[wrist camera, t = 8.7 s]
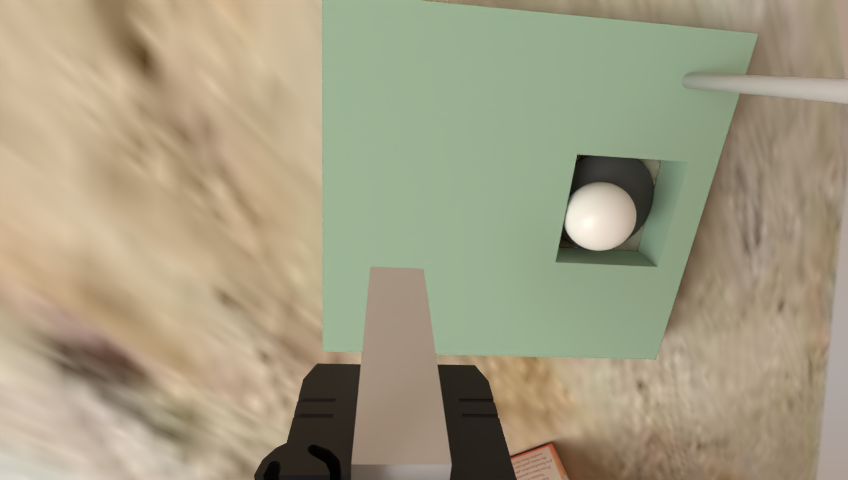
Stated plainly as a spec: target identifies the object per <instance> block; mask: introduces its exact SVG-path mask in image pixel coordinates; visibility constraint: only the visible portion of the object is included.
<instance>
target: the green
mask: <svg viewBox="0 0 848 480" xmlns="http://www.w3.org/2000/svg"><path fill="white" fill-rule="evenodd" d="M757 38H758V33H748V32H738V31H728V30H718V29H708V28H697V27H687V26H677V25H667V24H657V23H647V22H636V21H626V20H616V19H606V18H596V17H586V16H575V15H565V14H555V13H545V12H535V11H525V10H514V9H504V8H494V7H484V6H474V5H464V4H453V3H443V2H433V1H423V0H322V182H323V351H327V352H362V348H363V337H364V327H365V316H366V306H367V296H368V285H369V275H370V267H392V268H417V269H424V275H425V282H426V289H427V296H428V303H429V310H430V317H431V324H432V331H433V338H434V344H435V351H436V354H449V355H489V356H530V357H571V358H611V359H652V360H656V358H657V355H658V352H659V349H660V346H661V342H662V339H663V336H664V333H665V330H666V326H667V323H668V320H669V317H670V314H671V311H672V307H673V304H674V301H675V298H676V295H677V292H678V288H679V285H680V282H681V279H682V276H683V273H684V269H685V266H686V263H687V260H688V257H689V253H690V250H691V247H692V244H693V241H694V238H695V234H696V231H697V228H698V225H699V222H700V219H701V215H702V212H703V209H704V206H705V203H706V199H707V196H708V193H709V190H710V187H711V184H712V180H713V177H714V174H715V171H716V168H717V165H718V161H719V158H720V155H721V152H722V149H723V146H724V142H725V139H726V136H727V133H728V130H729V126H730V123H731V120H732V117H733V114H734V111H735V107H736V104H737V101H738V98H739V95H740V93H741V94H751V95H761V96H771V97H782V98H792V99H802V100H812V101H823V102H833V103H843V104H848V79H837V78H814V77H791V76H767V75H746V73H747V69H748V66H749V63H750V60H751V57H752V53H753V50H754V47H755V44H756V41H757ZM577 154H579V155H587V156H585V157H583V158H582V159H580V160H578V161H577V162H576V158H577ZM636 158H638V159H652V160H662V162H661V166H660V169H659V173H658V177H657V181H656V184H655V188H654V191H653V183H652V179H651V176H650V174H649V172H648V170H647V169H646V168H645V166H644V165H643V164H642V163H641V162H640V161H639V160H637V159H636ZM595 182H606V183H611V184H614V185H616V186H618V187H620V188H622V189H623V190H624V191H625V192H627V193H628V195H629V196H630V197H631V199H632V200H633V202H634V205H635V208H636V224H635V227H634V229H633V231H632V233H631V235H630V236H629V237H628V238H627V239H629V238H630V237H631V236H632V235H634V234H635V233H636V232H637V231H638V230H639V229H640V227H641V226H642V225H643V223H644V222H645V225H644V229H643V232H642V236H641V240H640V244H639V247H638V251H624V250H602V251H596V250H590V249H586V248H584V247H582V246H580V245H578V244H577V243H575V242H574V241H573V240H572V239H571V238H570V236H569V235H568V233H567V231H566V229H565V226H564V217H565V212H566V208H567V203H568V199H569V198H570V196H571V195H572V194H573V193H574V192H575V191H576V190H578V189H579V188H581V187H582V186H584V185H587V184H590V183H595ZM645 220H646V221H645ZM561 235H562V236H563V237H564V238H565V239H566V240H567V241H569V242H570V243H571V244H573V245H575V246H577V247H580V248H562V247H559V242H560V237H561ZM627 239H626V240H627ZM626 240H625V241H626ZM582 248H583V249H582Z"/></svg>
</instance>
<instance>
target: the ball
mask: <svg viewBox="0 0 848 480" xmlns="http://www.w3.org/2000/svg"><path fill="white" fill-rule="evenodd" d="M635 224H636V208H635V205H634V202H633V200H632V199H631V197H630V196H629V195H628V193H627V192H625V191H624V190H623V189H622V188H620V187H618V186H616V185H614V184H611V183H606V182H595V183H590V184H587V185H584V186H582V187H581V188H579V189H578V190H576V191H575V192H574V193H573V194H572V195H571V196H570V198H569V199H568V203H567V208H566V212H565V217H564V226H565V229H566V231H567V233H568V235H569V236H570V238H571V239H572V240H573V241H574V242H575V243H577V244H578V245H580V246H582V247H584V248H586V249H590V250H596V251H602V250H609V249H612V248H615V247H617V246H619V245H620V244H622V243H623V242H624V241H625V240H626V239H627V238H628V237H629V236H630V235H631V233H632V231H633V229H634V227H635Z"/></svg>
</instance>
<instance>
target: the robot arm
mask: <svg viewBox="0 0 848 480" xmlns="http://www.w3.org/2000/svg"><path fill="white" fill-rule="evenodd" d="M254 478H255V480H517V478H516V475H515V472H514V469H513V465H512V462H511V458H510V455H509V451H508V448H507V444H506V441H505V437H504V434H503V430H502V427H501V423H500V420H499V418H498V413H497V409H496V406H495V403H494V402H493V396H492V392H491V389H490V385H489V382H488V380H487V379H486V378H485V377H484V375H483V374H482V373H481V372H480V371H479V370H478V368H477V367H476V366H475V365H437V358H436V351H435V344H434V338H433V331H432V324H431V317H430V310H429V303H428V296H427V289H426V282H425V275H424V269H417V268H392V267H370V275H369V285H368V296H367V306H366V316H365V327H364V337H363V348H362V358H361V365H359V364H317V365H316V366H315V367H314V368H313V369H312V370H311V371H310V372H309V374H308V375H307V376H306V377H305V378H304V379H303V383H302V387H301V391H300V394H299V400H298V402H297V406H296V410H295V413H294V418H293V421H292V425H291V429H290V432H289V436H288V440H287V443H286V444H284V445H281V446H279V447H277V448H276V449H274V450H273V451H272V452H271V453H270V454H269V455H268V456H266V457H265V458H264V459H263V460H262V462H261V464H260V466H259V467H258V469H257V471H256V473H255V475H254Z"/></svg>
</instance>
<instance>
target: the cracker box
mask: <svg viewBox="0 0 848 480" xmlns="http://www.w3.org/2000/svg"><path fill="white" fill-rule="evenodd" d="M511 462H512V465H513V469H514V472H515V475H516V478H517V480H569V478H568V476H567V474H566V471H565V469H564V467H563V465H562V463H561V461H560V458H559V456H558V454H557V452H556V450H555V448H554V445H553V444H552V443H551V444H548V445H545V446H542V447H540V448H537V449H534V450H531V451H528V452H525V453H522V454H520V455H517V456H514V457H511Z"/></svg>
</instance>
